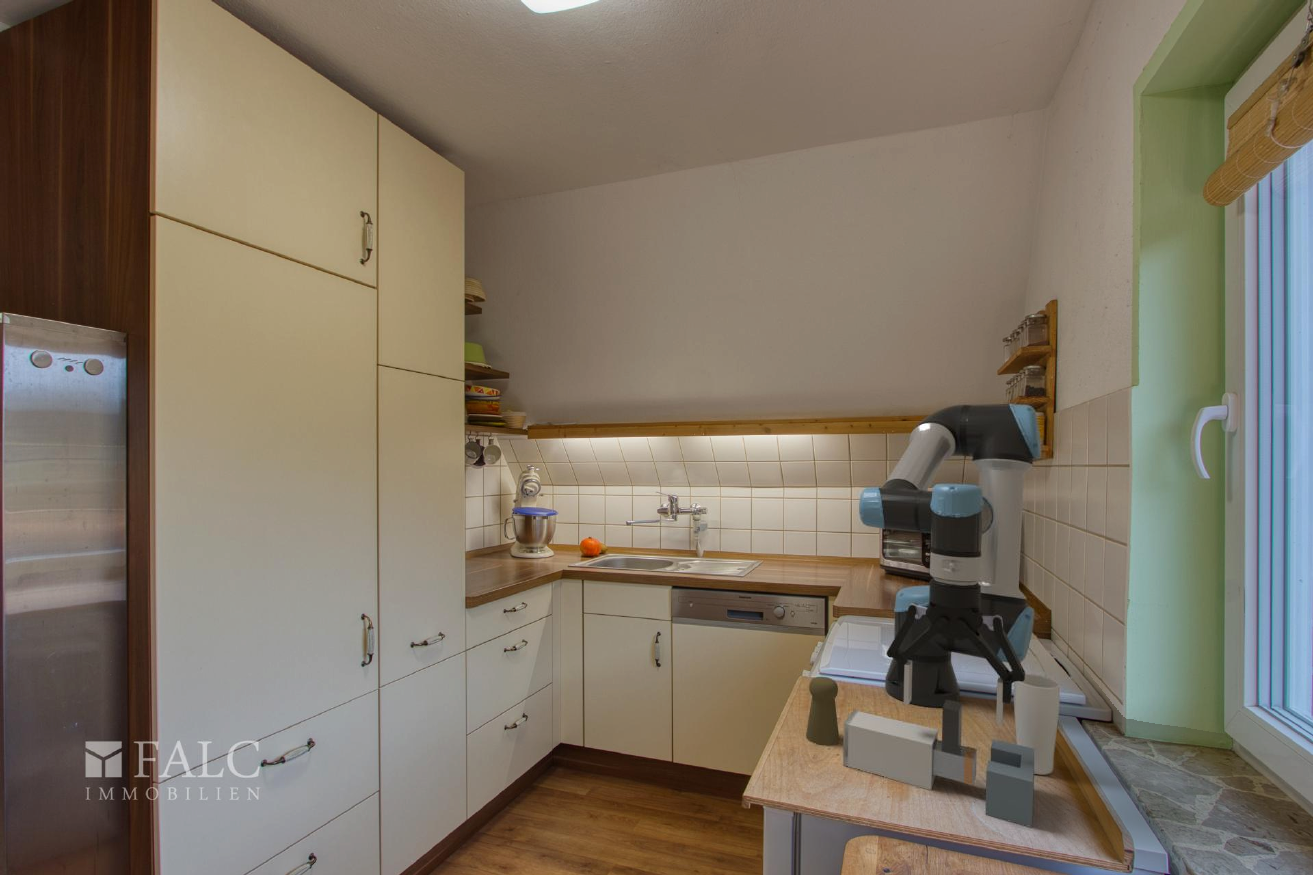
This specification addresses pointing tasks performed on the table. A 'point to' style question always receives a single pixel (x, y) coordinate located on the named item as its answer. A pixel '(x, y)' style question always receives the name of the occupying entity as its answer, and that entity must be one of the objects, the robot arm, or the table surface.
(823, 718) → the olive knob-topped post
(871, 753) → the sleeve
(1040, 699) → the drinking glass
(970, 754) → the sliding bolt
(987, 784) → the socket
